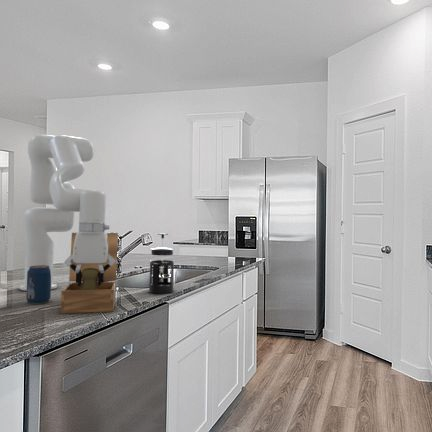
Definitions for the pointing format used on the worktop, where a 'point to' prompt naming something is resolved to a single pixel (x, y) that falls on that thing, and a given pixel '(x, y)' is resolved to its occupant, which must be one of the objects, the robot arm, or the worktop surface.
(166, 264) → the french press
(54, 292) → the worktop surface
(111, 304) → the chest
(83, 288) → the cork
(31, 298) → the soda can
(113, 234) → the lid
